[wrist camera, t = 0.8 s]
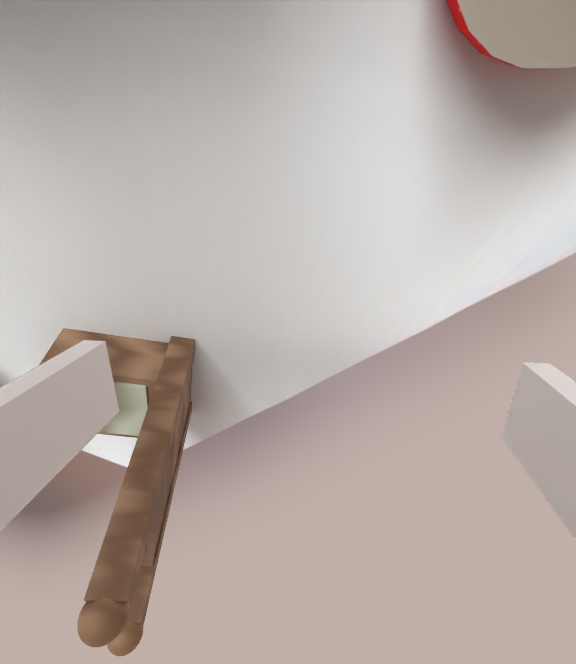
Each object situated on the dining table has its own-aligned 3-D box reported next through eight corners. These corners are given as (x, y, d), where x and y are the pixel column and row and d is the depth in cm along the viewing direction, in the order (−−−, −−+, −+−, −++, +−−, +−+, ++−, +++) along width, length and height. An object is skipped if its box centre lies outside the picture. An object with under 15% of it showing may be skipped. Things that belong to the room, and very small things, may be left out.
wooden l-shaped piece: (87, 401, 44) (-38, 656, 27) (60, 318, 34) (-168, 644, 17) (192, 412, 46) (138, 656, 29) (196, 338, 36) (117, 645, 19)
